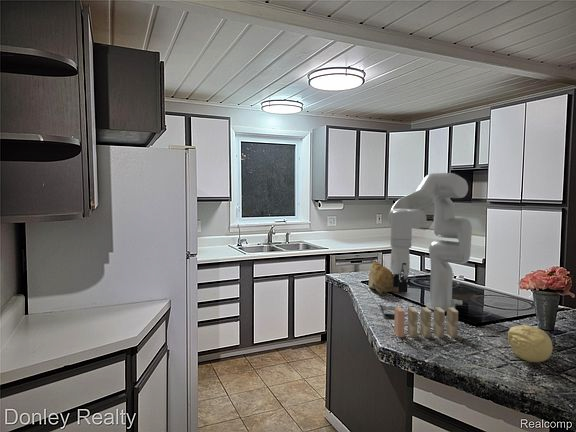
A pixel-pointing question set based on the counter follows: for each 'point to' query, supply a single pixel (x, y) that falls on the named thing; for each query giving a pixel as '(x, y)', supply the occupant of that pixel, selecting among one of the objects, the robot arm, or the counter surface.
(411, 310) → the domino
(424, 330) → the domino
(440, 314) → the domino
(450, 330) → the domino
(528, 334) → the yellow oval melon
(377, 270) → the rough brown rock
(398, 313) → the domino
